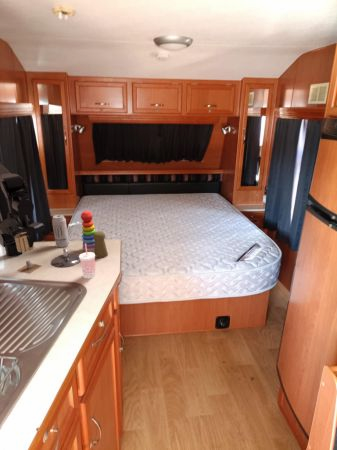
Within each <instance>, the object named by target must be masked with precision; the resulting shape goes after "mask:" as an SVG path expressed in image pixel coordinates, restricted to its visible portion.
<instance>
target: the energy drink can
mask: <svg viewBox="0 0 337 450" xmlns="http://www.w3.org/2000/svg"><path fill="white" fill-rule="evenodd" d="M51 221H52V222H51V223H52V229H53V234H54V242H55V246H56V247H57V249H66V248H67V247H69V245H70V240H69V232H68V228H67V219H66V217H65V215H63V214H55V215H53V216H52V219H51Z"/></svg>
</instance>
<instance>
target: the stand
mask: <svg viewBox="0 0 337 450" xmlns="http://www.w3.org/2000/svg"><path fill="white" fill-rule="evenodd" d="M41 267H42V265H41V264H36V263H32V262H31V260H27V261H25V265H24V266H22V267H20V268H18V269H17V270H16V272H21V273H25V274H30V275H31V273H34V271H36V270H38V269H39V268H41Z"/></svg>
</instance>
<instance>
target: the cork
mask: <svg viewBox="0 0 337 450" xmlns="http://www.w3.org/2000/svg"><path fill="white" fill-rule="evenodd" d="M105 238H106V234H105V232H104V231H96V232H95V233H94V234H93V239H94V240H95V248H94V252H93V253H95V258H96V259H105V258H107V257H108V255H109V253H108V249H107V245H106V239H105Z"/></svg>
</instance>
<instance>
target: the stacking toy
mask: <svg viewBox="0 0 337 450" xmlns="http://www.w3.org/2000/svg"><path fill="white" fill-rule="evenodd" d="M80 219H81V221H82V222H81V223H82V232H81V233H82V235H81V237H82V239H81V241H82V251H84V252H86V249H85V243H86V246H87V252H93V253H94V248H95V240H94V239H93V234H94V233H95V232H97V231H96V229H95V227H96V226H95V225H94V221H93V213H92V212H91V211H89V210H84V211H82V213H81V214H80Z"/></svg>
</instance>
